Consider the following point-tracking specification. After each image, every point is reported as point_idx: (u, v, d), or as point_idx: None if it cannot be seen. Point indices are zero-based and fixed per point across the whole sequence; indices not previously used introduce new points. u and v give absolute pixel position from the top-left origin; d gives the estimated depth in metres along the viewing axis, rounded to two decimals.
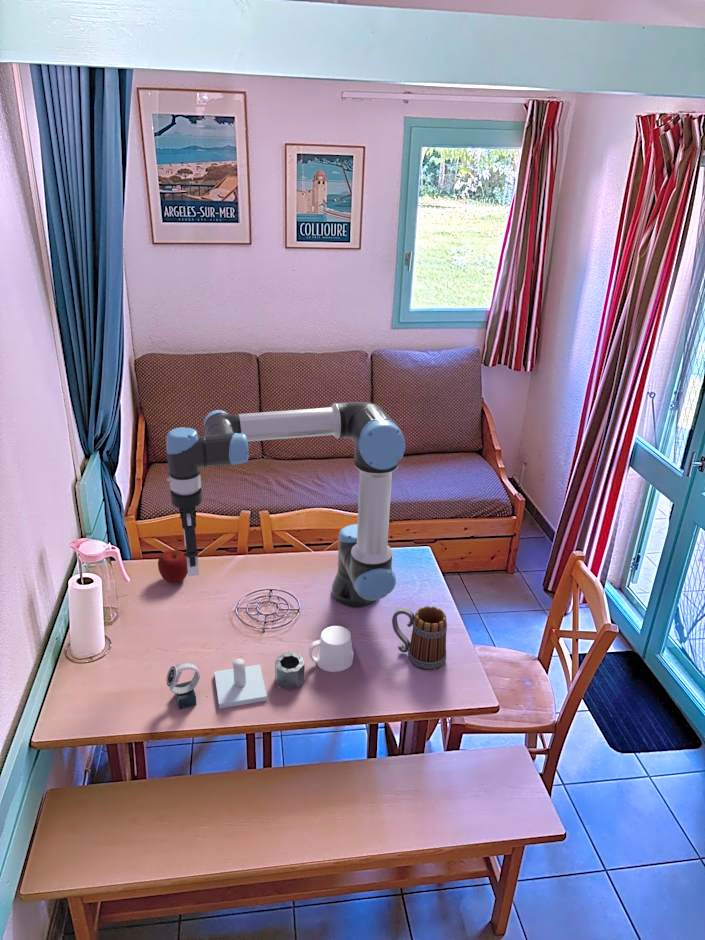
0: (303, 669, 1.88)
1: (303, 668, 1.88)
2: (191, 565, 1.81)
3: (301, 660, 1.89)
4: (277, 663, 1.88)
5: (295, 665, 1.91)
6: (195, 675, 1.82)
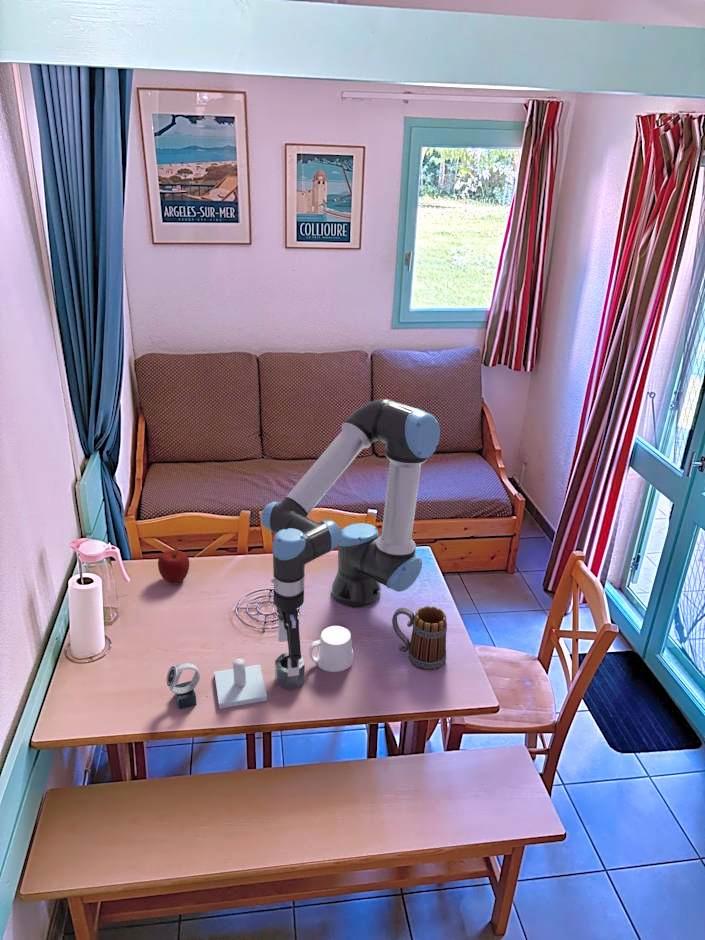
0: (303, 669, 1.88)
1: (303, 668, 1.88)
2: (293, 666, 1.78)
3: (301, 660, 1.89)
4: (277, 663, 1.88)
5: None
6: (195, 675, 1.82)
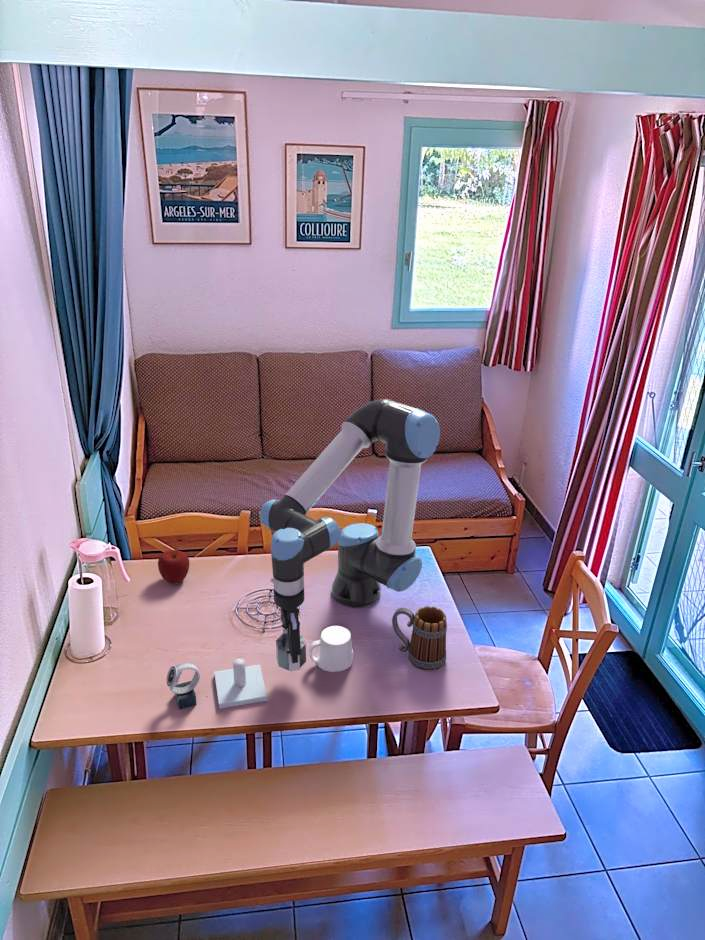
0: (304, 649, 1.86)
1: (304, 648, 1.86)
2: (293, 662, 1.82)
3: (302, 640, 1.86)
4: (278, 643, 1.85)
5: None
6: (195, 675, 1.82)
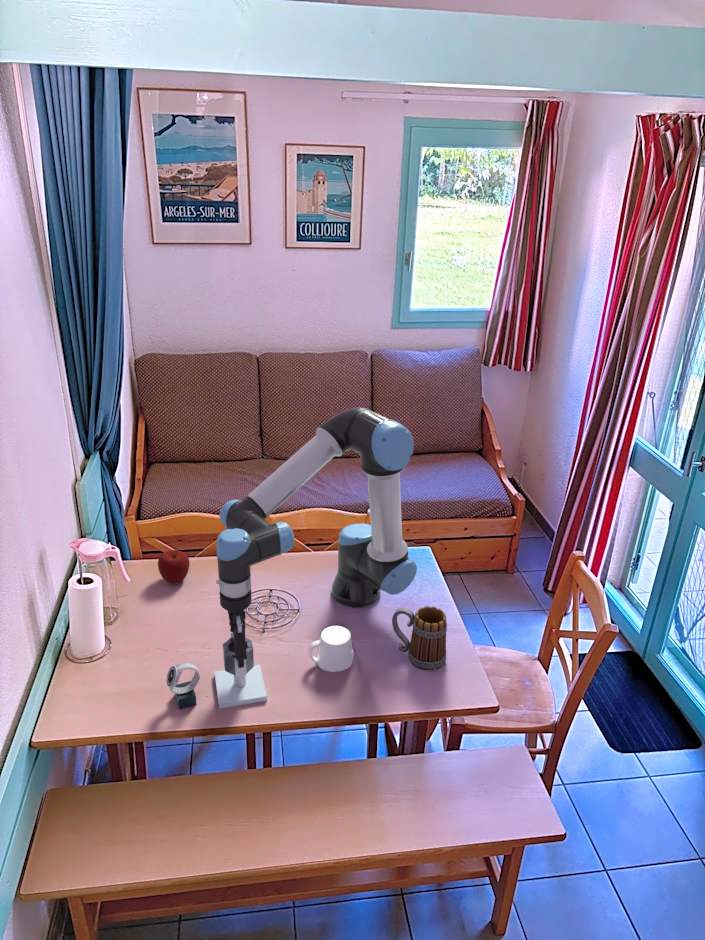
0: (252, 653, 1.82)
1: (252, 652, 1.81)
2: (239, 666, 1.78)
3: (250, 644, 1.82)
4: (225, 647, 1.81)
5: None
6: (195, 675, 1.82)
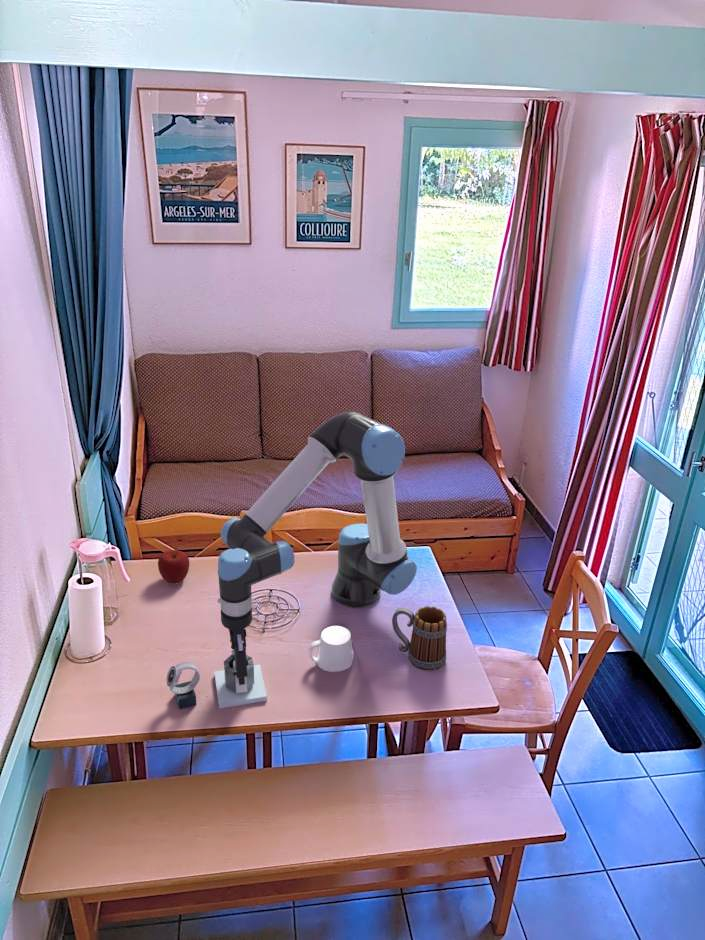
0: (252, 670, 1.84)
1: (252, 669, 1.84)
2: (240, 683, 1.80)
3: (250, 661, 1.85)
4: (225, 664, 1.84)
5: None
6: (195, 675, 1.82)
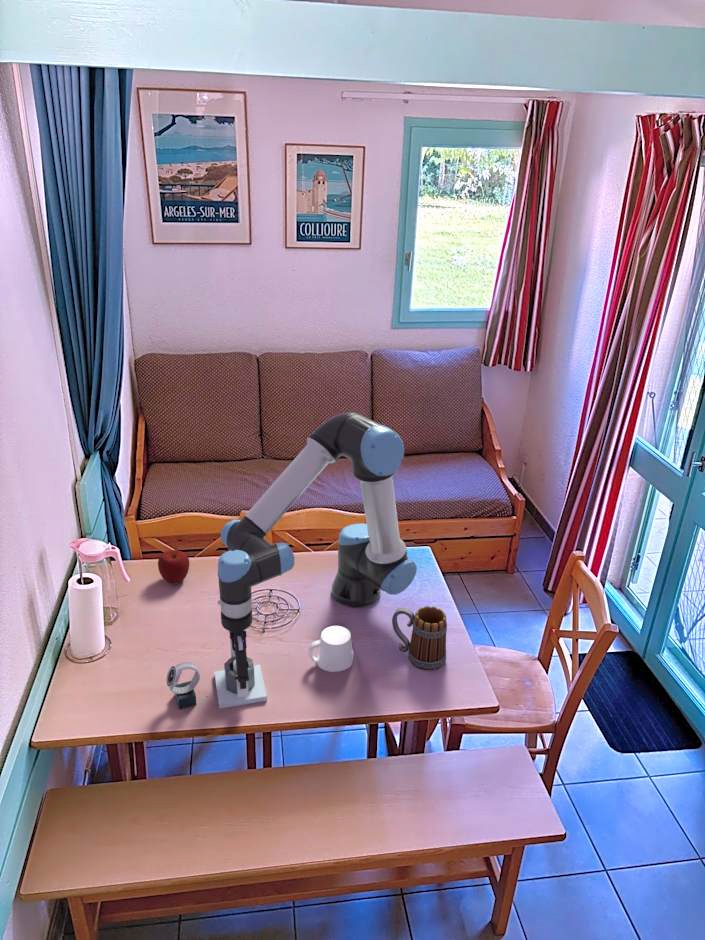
0: (253, 672, 1.84)
1: (252, 671, 1.84)
2: (241, 688, 1.77)
3: (251, 663, 1.85)
4: (226, 666, 1.84)
5: None
6: (195, 675, 1.82)
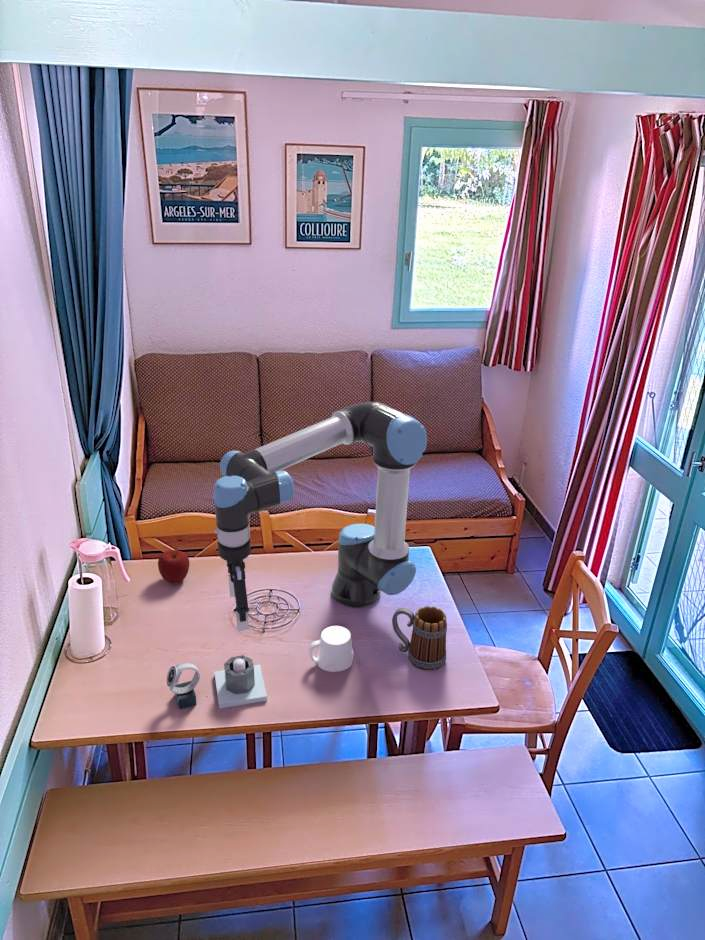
0: (253, 672, 1.84)
1: (252, 671, 1.84)
2: (241, 620, 1.71)
3: (251, 663, 1.85)
4: (226, 666, 1.84)
5: (245, 668, 1.88)
6: (195, 675, 1.82)
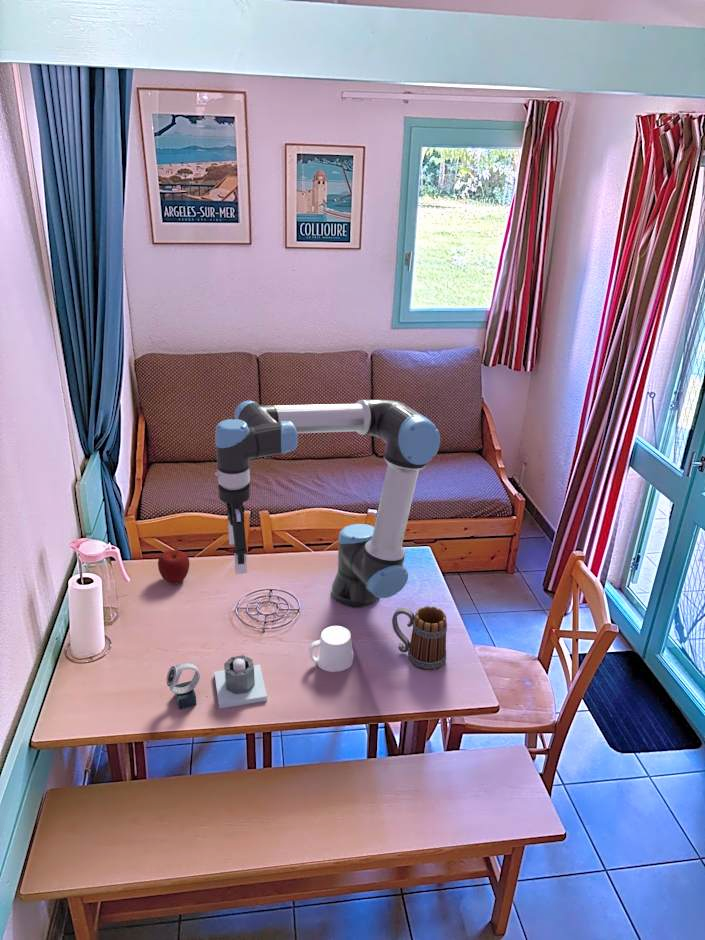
0: (253, 672, 1.84)
1: (252, 671, 1.84)
2: (239, 563, 1.74)
3: (251, 663, 1.85)
4: (226, 666, 1.84)
5: (245, 668, 1.88)
6: (195, 675, 1.82)
